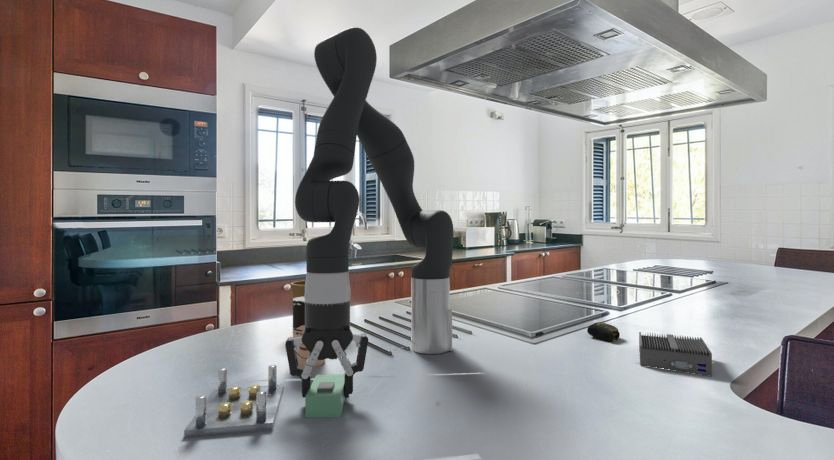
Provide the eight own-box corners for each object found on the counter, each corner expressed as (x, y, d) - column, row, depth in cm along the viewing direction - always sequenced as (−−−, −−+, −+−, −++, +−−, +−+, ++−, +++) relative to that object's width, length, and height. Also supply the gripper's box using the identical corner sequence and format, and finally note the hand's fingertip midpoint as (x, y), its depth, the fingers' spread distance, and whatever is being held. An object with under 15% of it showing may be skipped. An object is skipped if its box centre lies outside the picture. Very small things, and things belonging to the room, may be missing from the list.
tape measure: (584, 336, 115) (587, 323, 114) (598, 333, 119) (601, 320, 118) (608, 346, 109) (611, 332, 109) (622, 342, 113) (625, 329, 113)
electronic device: (701, 357, 100) (701, 335, 100) (712, 377, 87) (712, 352, 87) (639, 350, 106) (638, 330, 106) (640, 368, 92) (640, 345, 92)
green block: (316, 394, 77) (316, 371, 77) (347, 393, 78) (347, 370, 78) (305, 418, 67) (305, 392, 67) (340, 417, 68) (340, 391, 68)
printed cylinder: (286, 371, 90) (286, 300, 90) (304, 362, 96) (304, 295, 96) (314, 374, 88) (314, 301, 88) (330, 364, 94) (330, 296, 94)
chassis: (213, 396, 76) (213, 367, 76) (283, 390, 79) (283, 362, 79) (184, 439, 61) (184, 402, 61) (272, 430, 63) (272, 395, 63)
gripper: (368, 294, 78) (368, 386, 78) (285, 296, 75) (285, 392, 75) (372, 300, 70) (372, 403, 70) (281, 303, 67) (280, 410, 67)
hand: (327, 397), depth 72 cm, fingers closed on green block, 5 cm apart
